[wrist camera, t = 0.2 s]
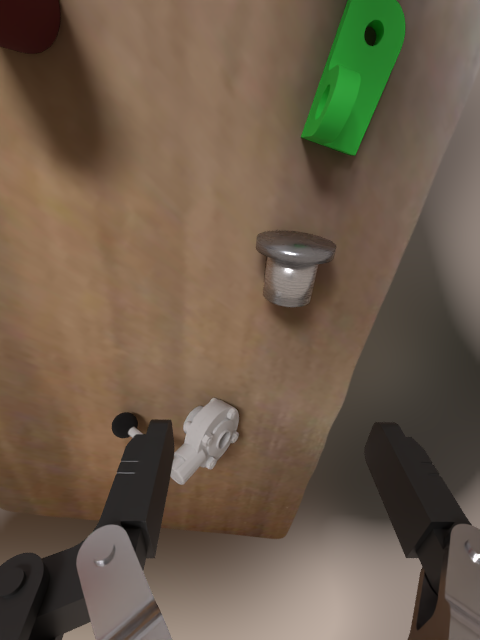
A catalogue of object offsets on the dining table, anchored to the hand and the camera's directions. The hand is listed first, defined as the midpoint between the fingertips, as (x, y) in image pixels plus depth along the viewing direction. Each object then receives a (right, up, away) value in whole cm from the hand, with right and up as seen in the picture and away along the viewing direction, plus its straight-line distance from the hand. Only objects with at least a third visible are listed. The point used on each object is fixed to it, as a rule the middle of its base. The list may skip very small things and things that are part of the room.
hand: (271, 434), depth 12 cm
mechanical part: (+10, +29, +19) cm, 36 cm away
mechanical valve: (-8, -10, +44) cm, 46 cm away
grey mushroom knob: (+5, +13, +28) cm, 31 cm away
